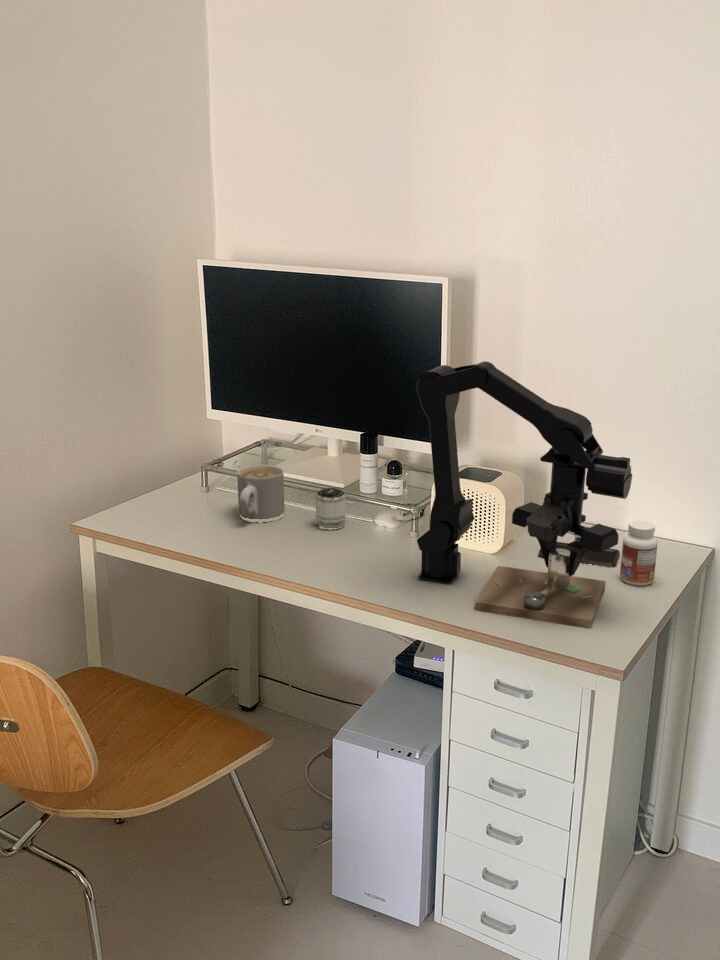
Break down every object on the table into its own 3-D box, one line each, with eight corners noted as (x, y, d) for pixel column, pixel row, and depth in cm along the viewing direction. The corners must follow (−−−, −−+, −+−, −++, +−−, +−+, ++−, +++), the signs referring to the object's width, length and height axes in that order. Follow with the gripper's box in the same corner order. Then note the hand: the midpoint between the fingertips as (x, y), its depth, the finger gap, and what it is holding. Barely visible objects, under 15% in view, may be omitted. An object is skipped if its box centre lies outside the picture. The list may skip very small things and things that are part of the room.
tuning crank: (539, 611, 174) (541, 573, 171) (518, 604, 176) (520, 566, 174) (577, 586, 183) (580, 549, 181) (558, 580, 186) (560, 544, 183)
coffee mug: (257, 504, 230) (256, 462, 227) (293, 512, 225) (292, 469, 222) (219, 522, 219) (217, 478, 216) (256, 531, 214) (254, 486, 211)
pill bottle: (614, 573, 193) (619, 518, 189) (646, 572, 193) (651, 517, 190) (626, 587, 187) (631, 531, 183) (658, 586, 188) (664, 529, 184)
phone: (545, 540, 207) (620, 549, 202) (544, 545, 207) (620, 555, 202) (537, 554, 200) (615, 564, 195) (537, 559, 200) (614, 569, 195)
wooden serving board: (474, 609, 178) (475, 601, 178) (497, 573, 193) (498, 564, 193) (590, 628, 171) (591, 619, 171) (604, 588, 187) (605, 580, 186)
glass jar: (311, 528, 215) (310, 493, 213) (323, 519, 221) (323, 484, 218) (338, 532, 213) (338, 497, 211) (350, 522, 219) (350, 488, 216)
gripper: (494, 485, 176) (489, 568, 181) (586, 514, 164) (578, 602, 169) (533, 471, 184) (527, 551, 189) (624, 497, 171) (615, 582, 176)
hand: (560, 571), depth 180 cm, fingers open, 4 cm apart
